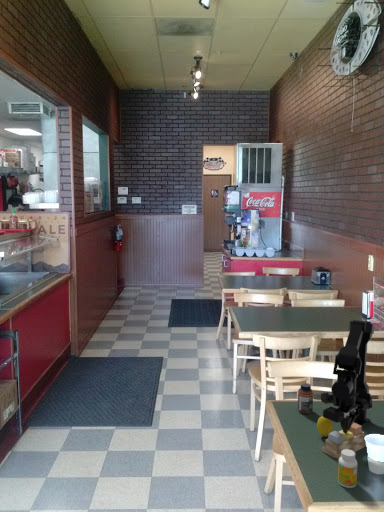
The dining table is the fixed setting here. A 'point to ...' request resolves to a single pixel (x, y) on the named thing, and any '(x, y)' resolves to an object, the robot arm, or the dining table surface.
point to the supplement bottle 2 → (347, 469)
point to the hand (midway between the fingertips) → (345, 432)
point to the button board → (344, 445)
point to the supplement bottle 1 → (305, 399)
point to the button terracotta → (355, 429)
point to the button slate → (336, 437)
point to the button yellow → (346, 434)
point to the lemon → (324, 426)
